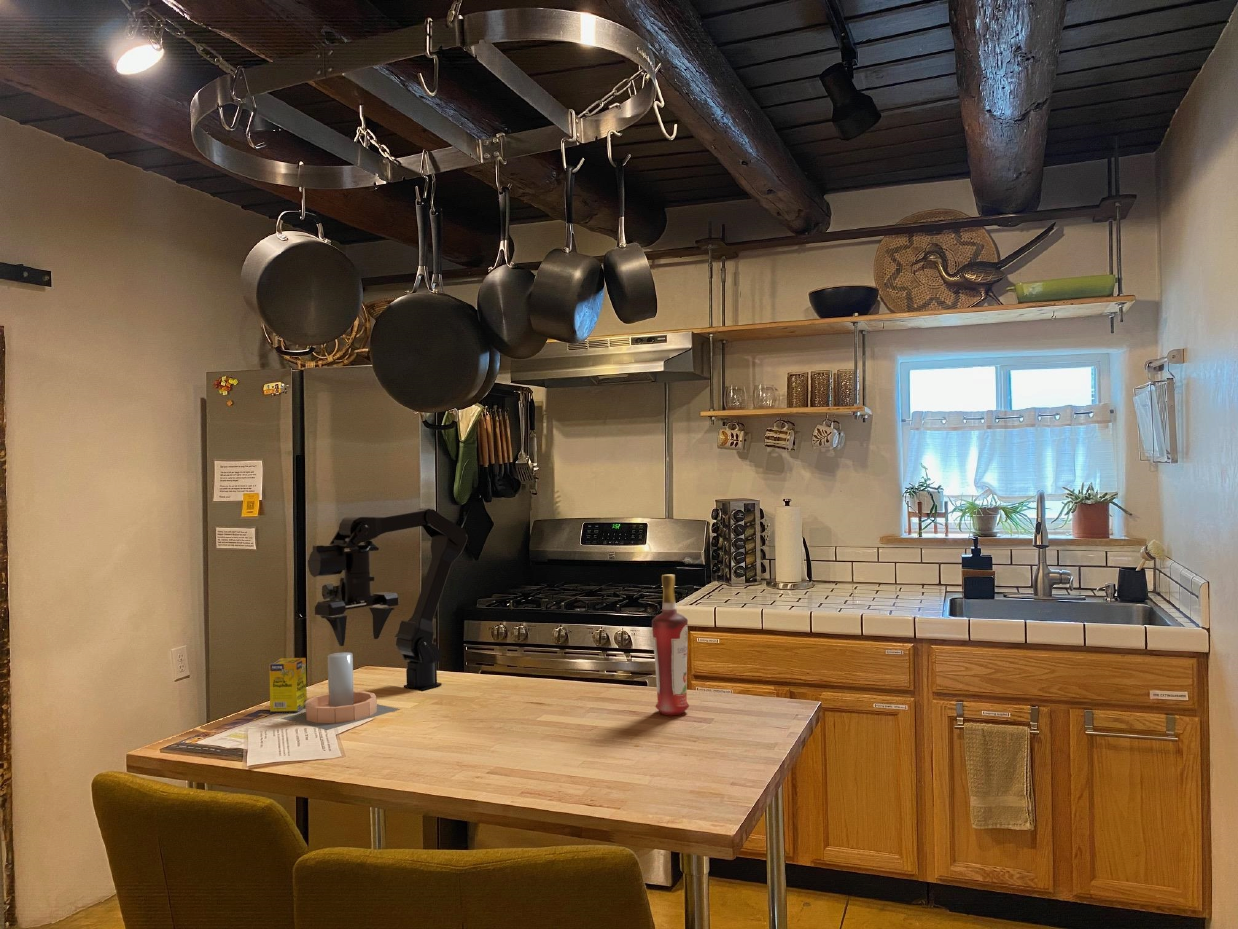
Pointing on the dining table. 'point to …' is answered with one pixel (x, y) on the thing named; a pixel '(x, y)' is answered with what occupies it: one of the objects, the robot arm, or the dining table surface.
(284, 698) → the supplement box
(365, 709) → the dish
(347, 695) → the cylinder
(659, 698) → the liquor
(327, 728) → the mat
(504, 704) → the dining table surface
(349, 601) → the robot arm
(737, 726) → the dining table surface
